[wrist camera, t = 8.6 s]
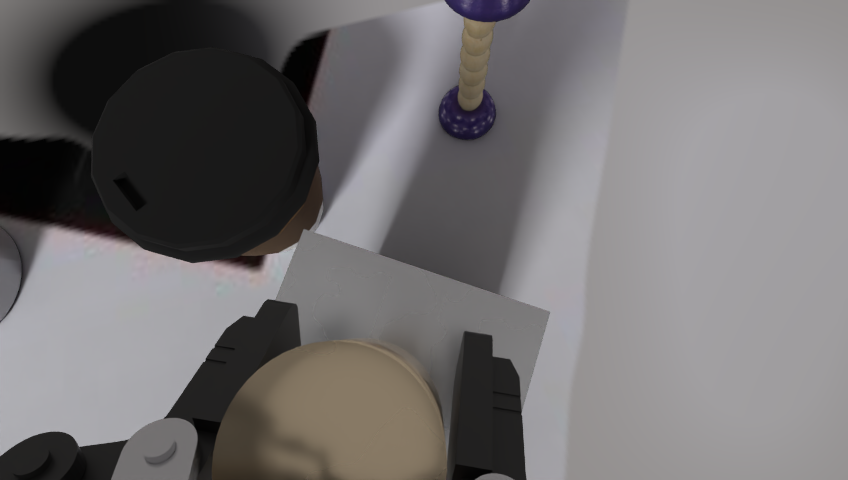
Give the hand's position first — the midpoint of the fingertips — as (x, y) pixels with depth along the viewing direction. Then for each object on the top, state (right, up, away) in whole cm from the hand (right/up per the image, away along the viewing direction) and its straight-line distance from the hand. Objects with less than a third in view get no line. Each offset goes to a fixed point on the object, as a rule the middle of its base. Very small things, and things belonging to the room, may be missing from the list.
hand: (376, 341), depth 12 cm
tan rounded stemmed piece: (0, -5, +13) cm, 14 cm away
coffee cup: (-9, +5, +21) cm, 24 cm away
